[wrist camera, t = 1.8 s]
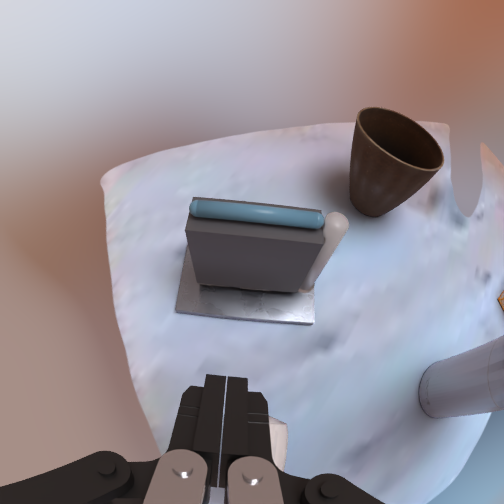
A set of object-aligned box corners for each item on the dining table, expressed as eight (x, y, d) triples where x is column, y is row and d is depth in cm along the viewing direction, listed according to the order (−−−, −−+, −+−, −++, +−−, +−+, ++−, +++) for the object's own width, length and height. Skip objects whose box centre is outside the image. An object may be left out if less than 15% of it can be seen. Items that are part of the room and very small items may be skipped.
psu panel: (310, 253, 42) (313, 248, 41) (311, 325, 37) (315, 322, 36) (190, 241, 42) (189, 236, 41) (176, 312, 36) (174, 308, 35)
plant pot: (323, 218, 46) (355, 143, 32) (334, 162, 53) (358, 96, 40) (401, 245, 45) (451, 185, 31) (400, 187, 52) (435, 129, 38)
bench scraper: (312, 269, 39) (348, 203, 27) (313, 296, 37) (353, 237, 25) (202, 258, 39) (191, 185, 26) (197, 285, 37) (182, 219, 24)
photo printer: (262, 486, 26) (279, 523, 15) (227, 482, 26) (227, 519, 15) (275, 413, 31) (298, 419, 20) (240, 409, 31) (246, 413, 20)
